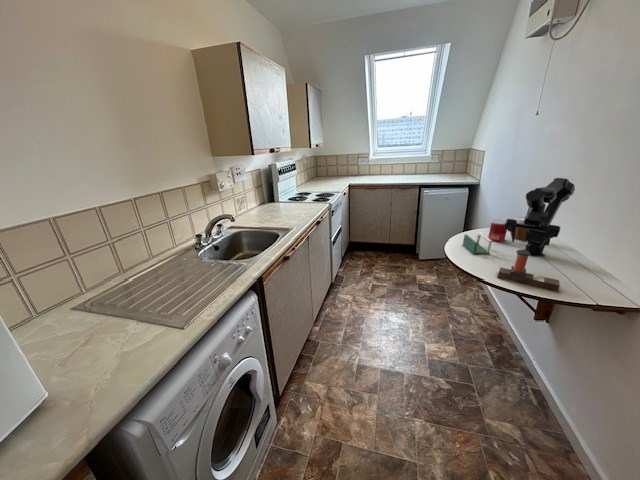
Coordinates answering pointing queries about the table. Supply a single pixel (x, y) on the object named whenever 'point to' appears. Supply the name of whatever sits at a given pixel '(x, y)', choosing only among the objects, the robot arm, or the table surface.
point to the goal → (476, 244)
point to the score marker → (520, 263)
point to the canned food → (497, 231)
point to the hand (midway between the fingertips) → (525, 244)
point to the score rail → (530, 280)
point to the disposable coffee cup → (520, 229)
